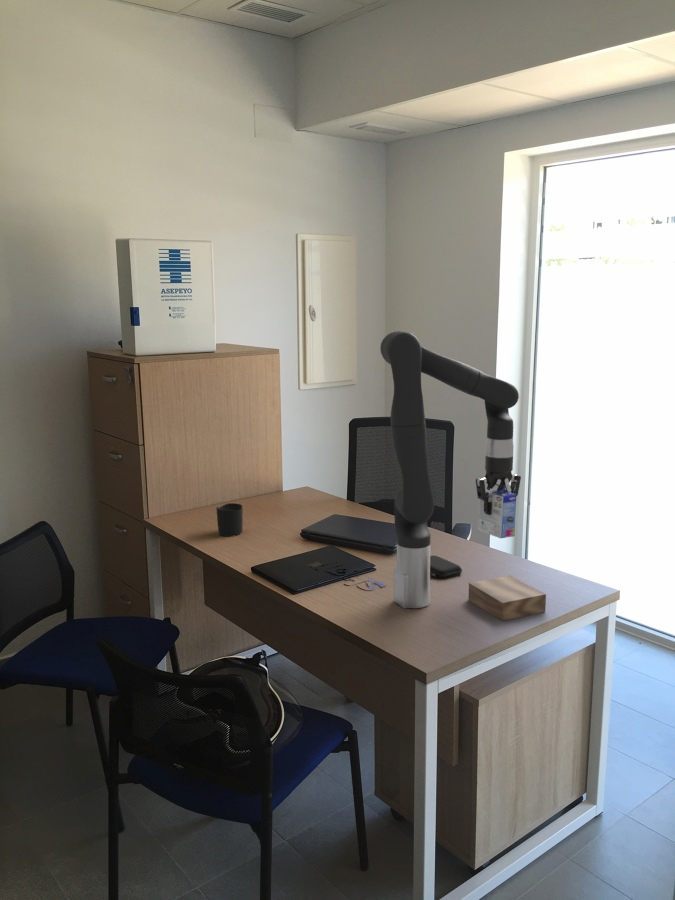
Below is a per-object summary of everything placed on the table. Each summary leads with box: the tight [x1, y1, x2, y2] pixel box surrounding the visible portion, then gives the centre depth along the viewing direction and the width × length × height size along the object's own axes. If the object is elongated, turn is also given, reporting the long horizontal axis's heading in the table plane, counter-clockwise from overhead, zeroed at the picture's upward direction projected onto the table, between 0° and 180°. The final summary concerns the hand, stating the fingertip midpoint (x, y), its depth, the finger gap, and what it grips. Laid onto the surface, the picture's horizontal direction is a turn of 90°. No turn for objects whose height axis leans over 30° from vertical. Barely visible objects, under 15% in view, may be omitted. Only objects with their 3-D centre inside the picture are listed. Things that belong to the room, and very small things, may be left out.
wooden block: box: [468, 575, 547, 621], centre depth 213 cm, size 14×16×5 cm
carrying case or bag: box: [430, 555, 463, 579], centre depth 241 cm, size 11×3×15 cm
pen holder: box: [215, 502, 244, 537], centre depth 282 cm, size 9×9×10 cm
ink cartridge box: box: [477, 485, 517, 539], centre depth 216 cm, size 10×6×14 cm, turn 33°
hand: (497, 512), depth 217 cm, fingers closed on ink cartridge box, 5 cm apart
